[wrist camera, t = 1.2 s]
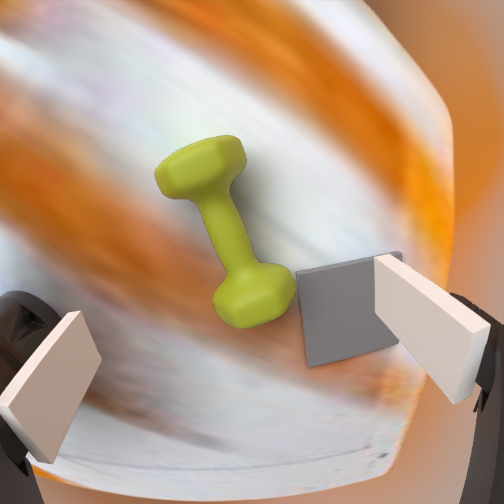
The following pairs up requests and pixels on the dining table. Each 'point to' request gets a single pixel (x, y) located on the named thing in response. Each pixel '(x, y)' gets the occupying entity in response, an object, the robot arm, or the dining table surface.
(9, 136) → the dining table surface
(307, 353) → the trivet
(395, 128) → the dining table surface
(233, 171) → the dumbbell
